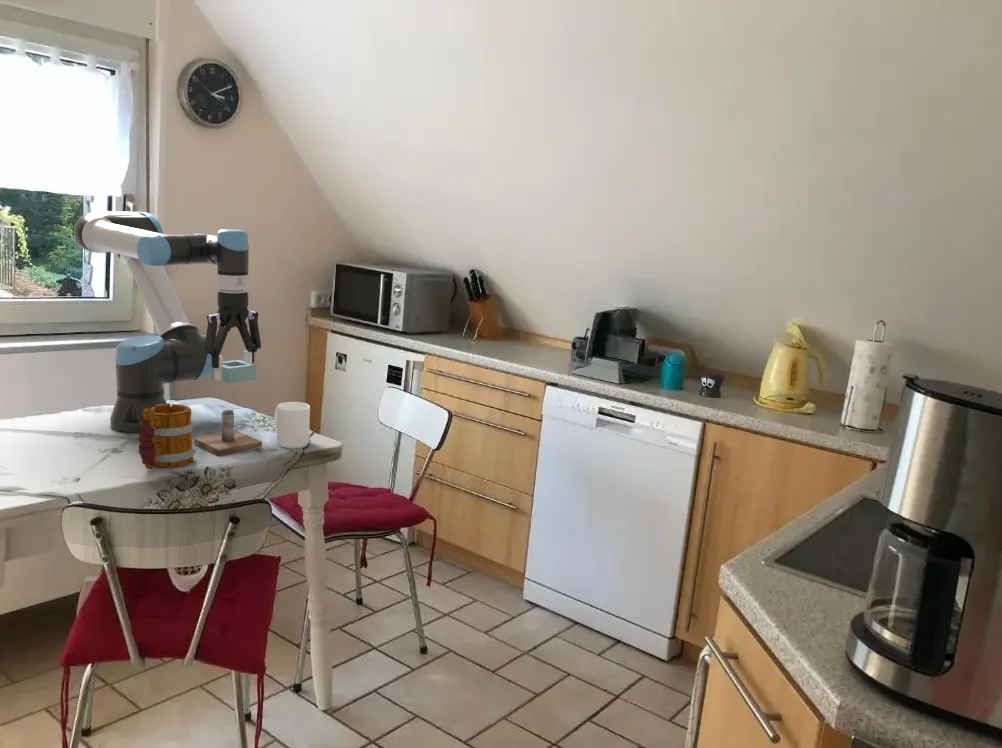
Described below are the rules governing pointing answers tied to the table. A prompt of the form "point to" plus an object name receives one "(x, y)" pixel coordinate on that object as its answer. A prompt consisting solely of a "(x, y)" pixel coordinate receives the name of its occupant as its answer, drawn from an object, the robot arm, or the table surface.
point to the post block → (227, 438)
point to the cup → (292, 424)
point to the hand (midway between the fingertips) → (233, 377)
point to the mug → (166, 436)
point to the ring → (237, 371)
